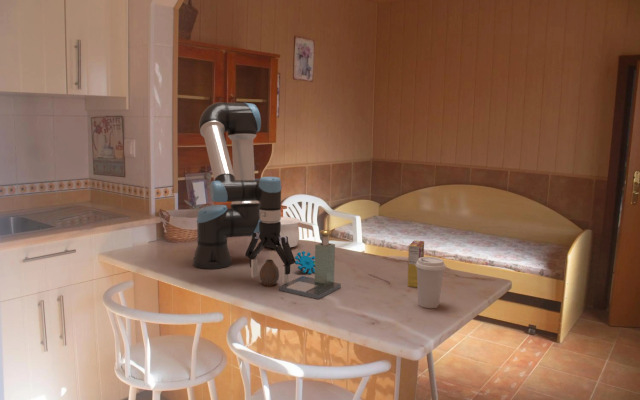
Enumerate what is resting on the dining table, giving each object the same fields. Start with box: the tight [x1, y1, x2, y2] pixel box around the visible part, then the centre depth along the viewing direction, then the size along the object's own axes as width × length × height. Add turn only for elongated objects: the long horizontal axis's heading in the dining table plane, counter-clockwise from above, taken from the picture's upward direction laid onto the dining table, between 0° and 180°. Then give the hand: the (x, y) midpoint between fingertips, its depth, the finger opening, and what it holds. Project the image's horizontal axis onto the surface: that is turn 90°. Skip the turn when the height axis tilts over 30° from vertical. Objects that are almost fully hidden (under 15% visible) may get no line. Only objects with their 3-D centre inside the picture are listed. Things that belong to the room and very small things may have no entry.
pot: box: [279, 216, 301, 248], centre depth 251 cm, size 22×17×12 cm
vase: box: [259, 259, 280, 287], centre depth 196 cm, size 7×7×9 cm
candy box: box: [407, 239, 425, 289], centre depth 200 cm, size 9×4×15 cm, turn 158°
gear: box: [294, 250, 315, 275], centre depth 214 cm, size 11×6×10 cm
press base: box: [278, 242, 342, 300], centre depth 191 cm, size 16×15×16 cm
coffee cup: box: [415, 256, 447, 309], centre depth 178 cm, size 10×10×15 cm
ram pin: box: [319, 229, 332, 246], centre depth 192 cm, size 4×4×11 cm
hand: (269, 279), depth 196 cm, fingers open, 13 cm apart
